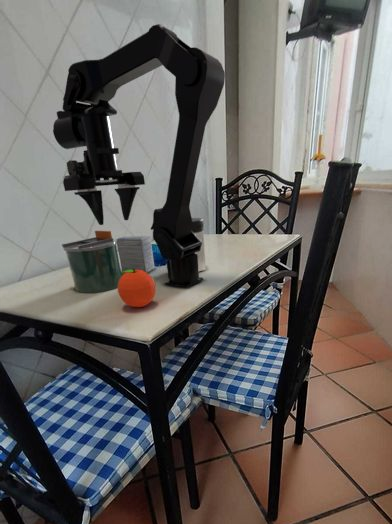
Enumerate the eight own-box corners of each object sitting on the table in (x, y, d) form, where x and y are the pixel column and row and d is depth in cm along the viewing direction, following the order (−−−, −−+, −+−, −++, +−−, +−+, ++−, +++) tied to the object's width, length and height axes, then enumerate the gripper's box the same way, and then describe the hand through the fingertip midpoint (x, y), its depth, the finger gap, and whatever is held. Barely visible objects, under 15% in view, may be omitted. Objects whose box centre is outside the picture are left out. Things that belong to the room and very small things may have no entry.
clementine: (109, 312, 58) (101, 274, 55) (126, 299, 64) (120, 264, 60) (149, 313, 56) (143, 274, 52) (163, 300, 62) (158, 264, 58)
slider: (113, 240, 72) (111, 230, 71) (94, 244, 68) (92, 234, 67) (99, 239, 74) (98, 230, 73) (81, 243, 71) (79, 234, 70)
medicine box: (155, 269, 84) (150, 235, 80) (146, 273, 81) (141, 238, 77) (131, 268, 87) (125, 235, 83) (121, 272, 84) (115, 238, 80)
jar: (183, 275, 76) (179, 223, 71) (167, 270, 83) (162, 221, 77) (213, 268, 81) (211, 218, 75) (195, 263, 87) (192, 217, 81)
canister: (134, 281, 75) (126, 237, 70) (95, 296, 67) (83, 247, 62) (103, 276, 82) (94, 235, 77) (64, 289, 74) (51, 244, 69)
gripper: (109, 149, 77) (120, 217, 84) (38, 147, 64) (59, 228, 72) (141, 143, 71) (150, 217, 78) (70, 140, 58) (90, 228, 66)
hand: (114, 222), depth 74 cm, fingers open, 7 cm apart
